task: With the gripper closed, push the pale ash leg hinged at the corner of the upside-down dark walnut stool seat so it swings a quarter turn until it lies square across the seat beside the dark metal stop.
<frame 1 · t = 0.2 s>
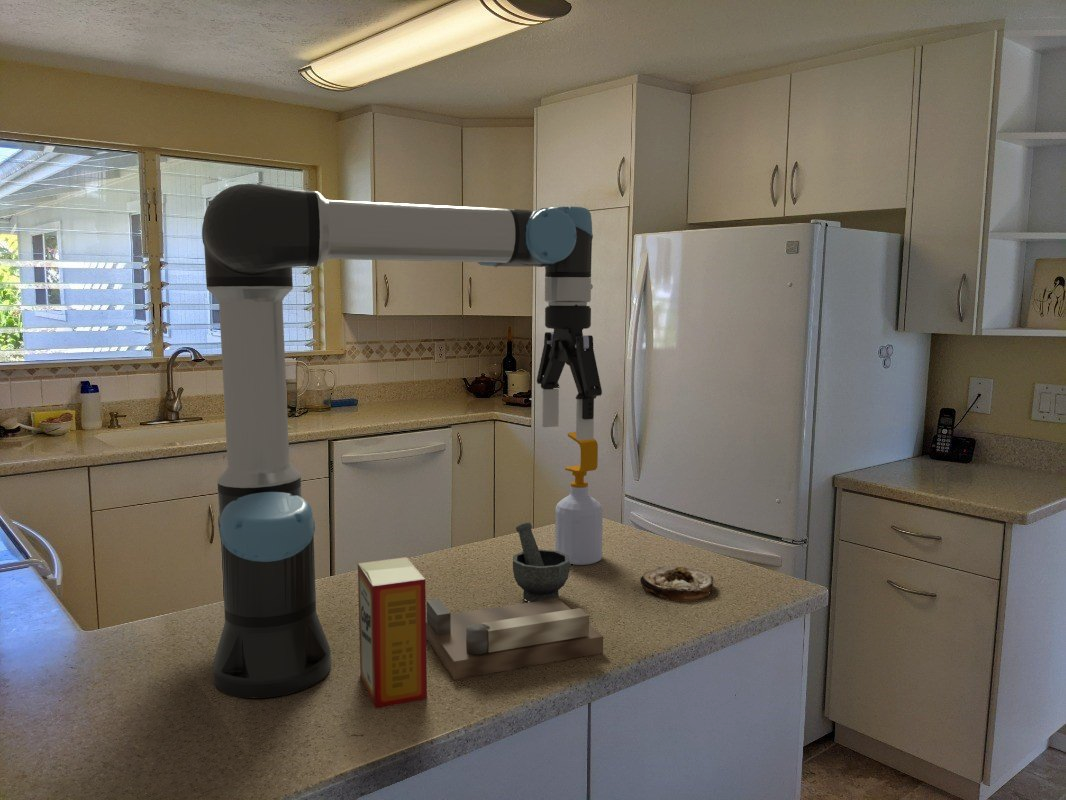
hand: (566, 432, 138), 28 cm above the countertop, tool pointing down, fingers open, 13 cm apart
baking soda box: (392, 688, 108), on the countertop
soap bottle: (578, 559, 160), on the countertop
hinged leg: (527, 630, 115), point 4 cm above the countertop, hinge at 0.0°
stool seat: (510, 643, 121), on the countertop
mortar and pestle: (538, 597, 140), on the countertop
sushi roll: (676, 591, 145), on the countertop
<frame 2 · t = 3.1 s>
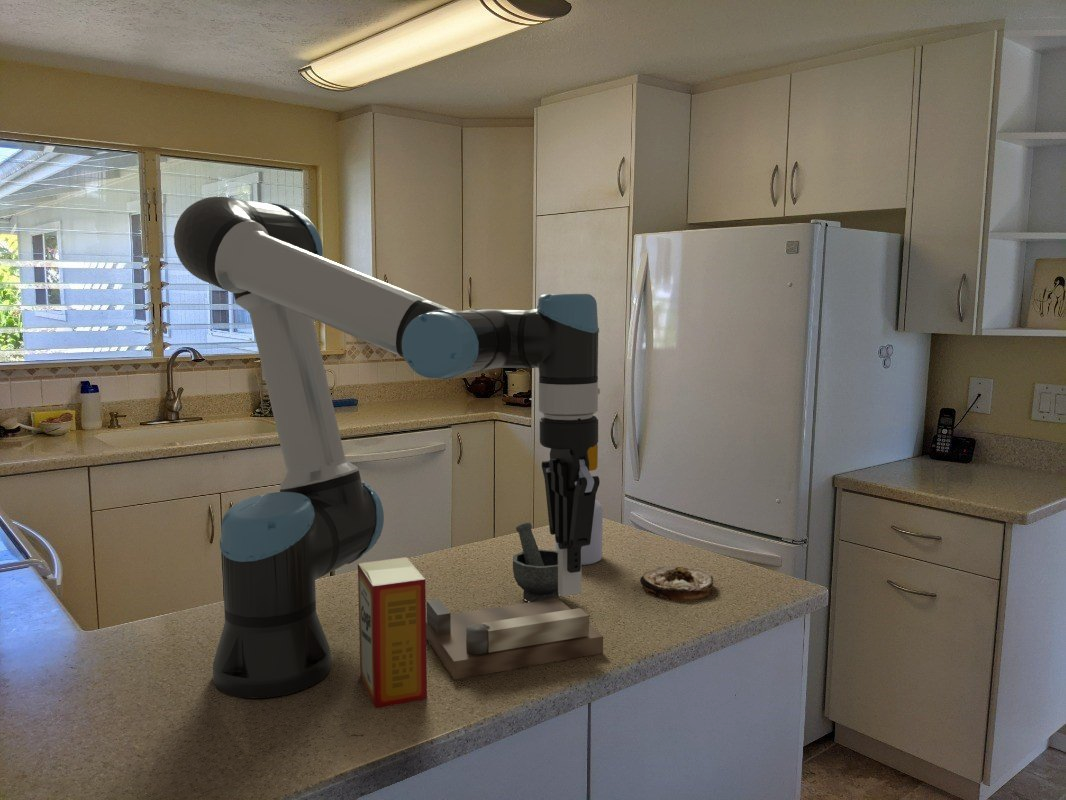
hand: (569, 593, 109), 12 cm above the countertop, tool pointing down, fingers closed
nothing on the countertop moved.
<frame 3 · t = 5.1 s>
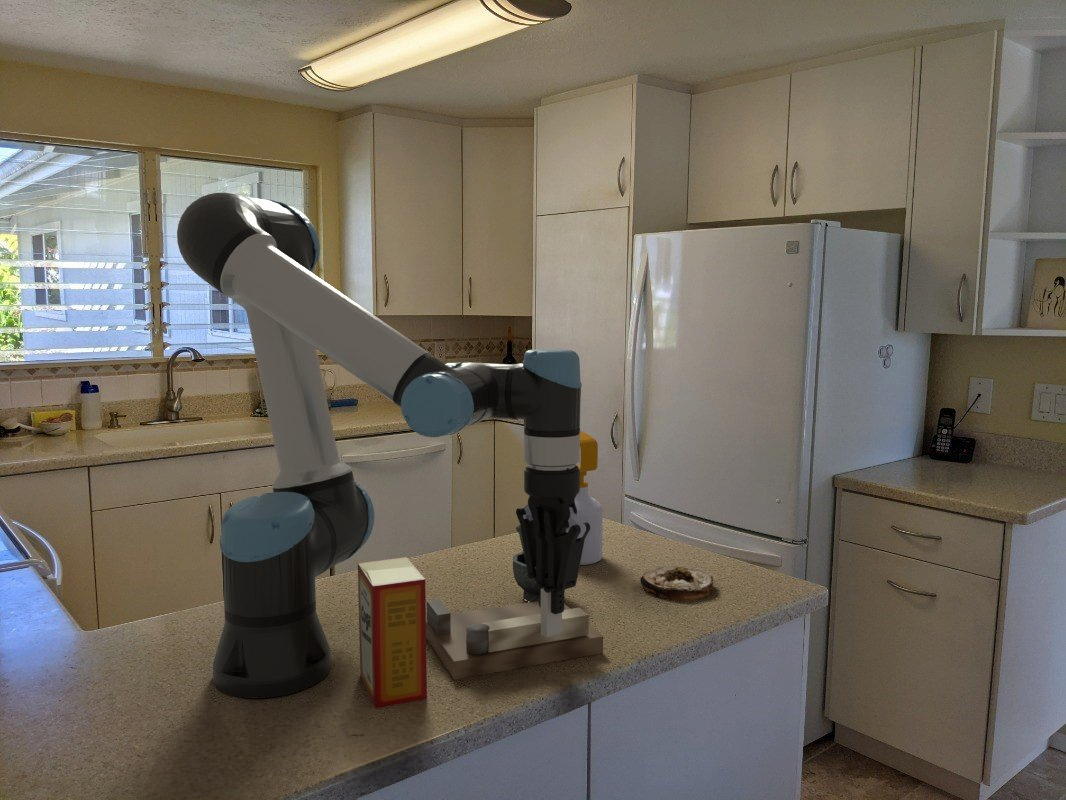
hand: (551, 633, 114), 4 cm above the countertop, tool pointing down, fingers closed
hinged leg: (527, 630, 115), point 4 cm above the countertop, hinge at 0.8°, touching gripper
everything else where it was.
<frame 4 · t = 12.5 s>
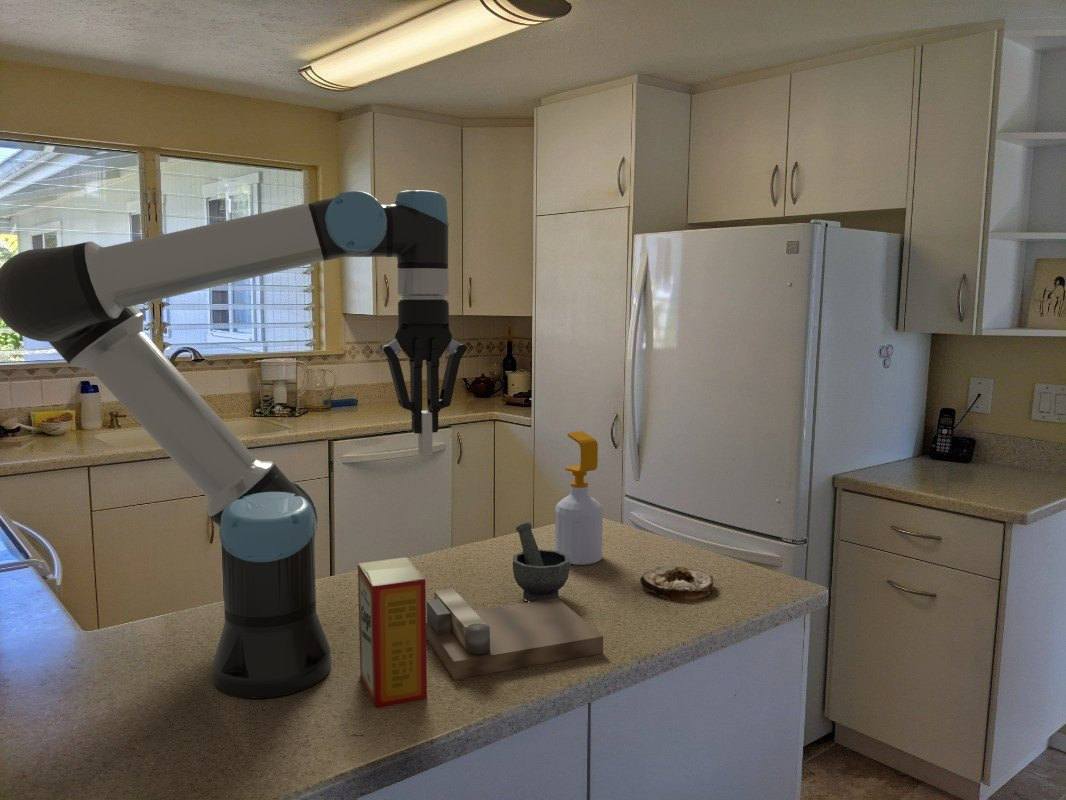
hand: (425, 453, 127), 26 cm above the countertop, tool pointing down, fingers closed
hinged leg: (461, 619, 119), point 4 cm above the countertop, hinge at 90.8°
everything else where it was.
at the end: hinged leg at +91° (first picture: +0°); mortar and pestle moved 0.2 cm from its start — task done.
